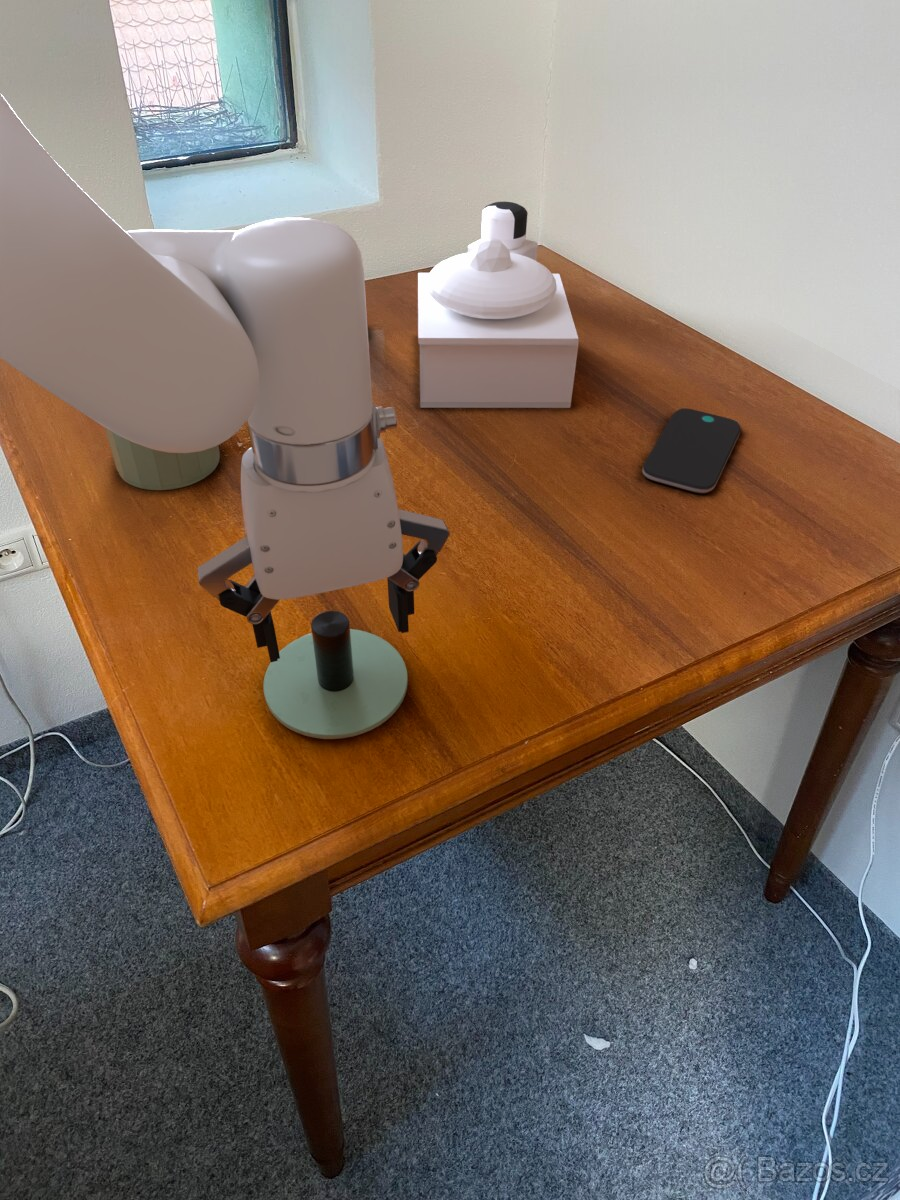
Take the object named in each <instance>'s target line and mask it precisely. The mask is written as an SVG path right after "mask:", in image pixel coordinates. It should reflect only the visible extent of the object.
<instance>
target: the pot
mask: <svg viewBox="0 0 900 1200" xmlns="http://www.w3.org/2000/svg"><path fill="white" fill-rule="evenodd" d="M104 431H105V435H106V437H107V440H108V444H109V447H110V452H111V455H112V458H113V461H114V462H113V463H114V466H115V468H116V469H115V470H116V471H117V472H118V475H119V477H120V478H121V479H122V480H123V481H124V482H125V483H127V484H129V485H130V486H132V487H135V488H139V489H141V490H143V489H144V490H146V491H147V490H149V491H169V490H176V489H181V488H184V487H188V486H191V485H194V484H196V483H198V482H201V481H202V480H204V479H206V478H207V477H208V476H210V475H211V474H212V473H213V472H214V471H215V470H216V468H217V467H218V465H219V463H220V460H221V459H220V458H221V453H220V448H219V445H217V446H215V447H212V448H209V449H206V450H203V451H198V452H191V453H168V452H163V451H158V450H153V449H150V448H147V447H144V446H142V445H139V444H136V443H133V442H131V441H129V440H127V439H125V438H123V437H121V436H119V435H117V434H115V433H114V432H112V431H110V430H109V429H107V428H105V427H104Z"/></svg>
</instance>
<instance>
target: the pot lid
mask: <svg viewBox="0 0 900 1200" xmlns="http://www.w3.org/2000/svg"><path fill="white" fill-rule="evenodd" d="M310 623H311V624H310V627H311V633H308V634H305V635H303V636H301V637H298V638H296V639H295V640H293V641H292V642H289V643H288V644H287V645H286V646H284V647H283V648H281V650H279V655H280V659H278V661H275V662H271V661H270V663H269V665H268V666H267V669H266V671H265V675H264V678H263V684H262V685H263V686H262V687H263V695H264V696H263V697H264V700H265V703H266V705H267V707H268V709H269V712H270V713H271V714H272V716H273V717H274V718H275V719H276V721H278V722H279V723H280V724H281V725H283V726H284V727H286V728H287V729H289V730H291V731H293V732H294V733H296V734H299V735H303V736H306V737H309V738H314V739H322V740H339V739H346V738H353V737H355V736H359V735H363V734H365V733H367V732H370V731H372V730H374V729H376V728H378V727H379V726H381V725H383V724H384V723H385V722H386V721H388V720H389V719H390V718H391V717H392V716H393V715H394V714H395V713H396V711H397V710H398V709H399V708H400V706H401V704H402V703H403V701H404V698H405V696H406V694H407V690H408V681H409V680H408V679H409V677H408V669H407V667H406V666H407V665H406V663H405V660H404V659H403V656H402V655H401V654H400V653H399V651H398V650H397V649H396V648H395V647H394V646H393V645H392V644H391V643H389V642H388V641H387V640H386V639H384V638H382V637H380V636H378V635H376V634H373V633H370V632H367V631H364V630H360V629H353V628H351V625H350V620H349V617H348V616H347V615H346V614H345V613H343V612H341V611H337V610H326V611H322V612H320V613H318V614H317V615H315V616H314V617H313V619H312V620H311V622H310Z"/></svg>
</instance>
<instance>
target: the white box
mask: <svg viewBox="0 0 900 1200" xmlns="http://www.w3.org/2000/svg"><path fill="white" fill-rule="evenodd" d="M579 342H580V341H579V335H578V331H577V329H576V326H575V321H574V319H573V316H572V313H571V309H570V306H569V302H568V298H567V295H566V291H565V288H564V285H563V281H562V278H561V275H560V273H552V272H551V271H550V270H549V268H547V267H546V266H545V265H543V264H542V263H541V262H538V261H537V260H536V261H535V260H533V259H531V258H528V257H526V256H522V255H519V254H515V253H510V251H509V250H508V249H507V248H506V247H505V246H504V244H503V243H502V242H501V241H498V240H490V239H486V240H484V241H482V242H481V243H479V244H477V245H476V246H475V247H474V248H473V250H472V251H471V252H463V253H458V254H455V255H452V256H450V257H448V258H447V259H446V258H445V259H444V260H442V261H440V262H438V263H437V264H436V265H435V266H434V267H433V268H432V269H431V270H430V272H418V273H417V344H418V345H419V408H423V409H428V408H429V409H432V408H433V409H446V408H447V409H470V408H471V409H510V408H511V409H527V408H528V409H571V406H572V398H573V390H574V382H575V373H576V367H577V358H578V351H579V344H580V343H579Z"/></svg>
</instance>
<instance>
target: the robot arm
mask: <svg viewBox="0 0 900 1200" xmlns="http://www.w3.org/2000/svg"><path fill="white" fill-rule="evenodd" d="M365 281H366V280H365V271H364V262H363V256H362V252H361V250H360V247H359V246H358V244H357V242H356V240H355V239H354V237H353V236H352V235H351V234H350V233H349V232H348V231H346V230H345V229H343V228H341V227H340V226H339V225H336V224H334V223H332V222H329V221H324V220H320V219H313V218H306V217H305V218H304V217H284V218H283V217H281V218H275V219H269V220H264V221H261V222H256V223H254V224H251V225H247V226H246V227H245V228H241V229H238V230H235V229H234V230H182V229H181V230H180V229H135V230H124V229H123V227H122V226H121V225H120V224H118V222H116V221H115V220H114V219H113V218H112V217H110V216H109V214H108V213H107V212H106V211H104V209H102V208H101V207H100V206H99V205H98V203H96V201H94V200H93V198H92V197H90V196H89V195H88V194H87V193H86V192H85V191H84V190H83V188H81V187H80V185H78V184H77V183H76V181H75V180H73V178H72V177H71V176H70V175H69V174H68V173H67V172H66V171H65V170H64V169H63V168H62V167H61V166H60V165H59V164H58V162H57V161H56V160H55V159H54V158H53V157H52V156H51V155H50V153H49V152H48V151H47V150H46V149H45V148H44V147H43V145H42V144H41V143H40V141H38V140H37V138H36V137H35V136H34V135H33V133H32V132H31V131H30V129H28V128H27V126H26V125H25V124H24V123H23V121H22V120H21V119H20V117H19V116H18V114H17V113H16V112H15V111H14V109H13V108H12V106H11V105H10V104H9V103H8V101H7V100H6V98H5V97H4V95H3V94H2V93H1V92H0V359H2V360H3V361H4V362H5V363H7V364H8V365H9V366H11V367H13V368H14V369H15V370H17V371H18V372H19V373H21V374H23V375H24V376H25V377H27V378H28V379H30V380H31V381H32V382H34V383H36V384H37V385H38V386H40V387H42V388H43V389H44V390H46V391H48V392H49V393H50V394H52V395H55V397H56V398H58V399H60V400H61V401H63V402H64V403H66V404H67V405H70V406H71V407H72V408H74V409H75V410H77V411H78V412H80V413H82V414H84V415H85V416H86V417H88V418H90V419H92V420H93V421H94V422H95V423H97V424H98V425H100V426H102V427H103V428H104V429H105V428H107V429H109V430H110V431H112V432H114V433H115V434H117V435H119V436H121V437H123V438H125V439H127V440H129V441H131V442H133V443H136V444H139V445H142V446H144V447H147V448H150V449H153V450H158V451H163V452H168V453H191V452H198V451H203V450H206V449H209V448H212V447H215V446H217V445H218V446H220V445H221V444H223V443H224V442H226V441H228V440H229V439H230V438H231V437H233V436H234V435H235V434H236V433H238V432H239V431H240V430H241V428H242V427H243V426H244V424H247V429H248V435H249V441H250V446H251V447H249V448H248V449H246V450H245V452H244V453H243V454H242V457H241V463H240V497H241V508H242V518H243V525H244V533H245V536H244V537H243V538H241V539H239V540H238V541H236V542H234V543H233V544H231V545H230V546H228V547H227V548H225V549H224V550H222V551H221V552H219V553H217V554H216V555H214V556H213V557H211V558H210V559H208V560H207V561H205V562H203V563H202V564H201V565H199V566H198V567H197V569H196V573H197V578H198V584H199V585H200V586H201V588H203V589H204V591H206V592H207V593H209V594H210V595H211V596H212V597H213V598H215V599H216V600H218V602H219V605H220V606H221V607H223V608H225V609H227V610H229V611H232V612H234V613H236V614H239V615H241V616H244V617H245V618H246V621H247V622H248V623H249V624H250V625H252V629H253V634H254V638H255V643H256V648H257V649H260V648H264V647H266V648H267V653H268V656H269V660H270V663H271V662H275V661H278V659H280V655H279V652H280V650H279V645H278V640H277V634H276V630H275V629H276V628H275V624H274V620H273V616H272V610H273V609H275V606H276V605H277V604H278V602H279V601H281V600H291V599H297V598H298V599H299V598H303V597H308V596H313V595H318V594H323V593H328V592H332V591H338V590H343V589H347V588H351V587H356V586H361V585H366V584H370V583H374V582H379V581H382V580H385V579H387V597H388V608H389V611H390V614H391V616H392V619H393V621H394V624H395V627H396V629H397V632H398V633H401V634H405V633H409V632H410V629H409V616H411V615H412V616H413V615H415V591H416V590H417V589H418V588H420V581H419V580H420V579H421V578H422V577H423V576H425V575H426V574H427V572H429V570H430V569H432V567H433V566H435V564H436V563H437V561H438V557H437V556H438V555H439V553H441V551H442V549H443V547H444V546H445V544H446V543H447V541H448V538H449V537H450V533H451V532H450V530H449V527H448V526H447V524H446V521H444V519H441V518H438V517H433V516H429V515H425V514H421V513H417V512H412V511H408V510H404V509H400V508H399V506H398V505H399V504H398V499H397V493H396V489H395V484H394V483H395V482H394V477H393V474H392V469H391V466H390V465H391V464H390V461H389V458H388V455H387V451H386V448H385V445H384V442H383V439H382V437H381V434H383V433H386V432H387V431H388V430H392V429H397V428H398V420H397V413H396V410H395V407H393V406H390V407H384V408H383V407H382V406H377V407H376V405H375V403H374V402H373V392H372V379H371V378H372V377H371V362H370V360H371V359H370V344H369V329H368V315H367V313H368V312H367V298H366V296H367V295H366V284H365ZM403 536H408V537H412V538H416V539H420V540H419V541H418V542H416V543H415V544H414V546H412V548H410V550H409V551H408V552H407V553H406V554H404V543H403ZM250 565H252V569H253V573H254V574H253V575H252V577H251V578H250V579H249V580H248V582H247V583H246V584H245V585H243V584H241V583H238V582H236V581H234V580H232V579H229V578H231V577H232V576H234V575H236V574H237V573H239V572H240V571H242V570H244V569H245V568H246V567H248V566H250Z"/></svg>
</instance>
